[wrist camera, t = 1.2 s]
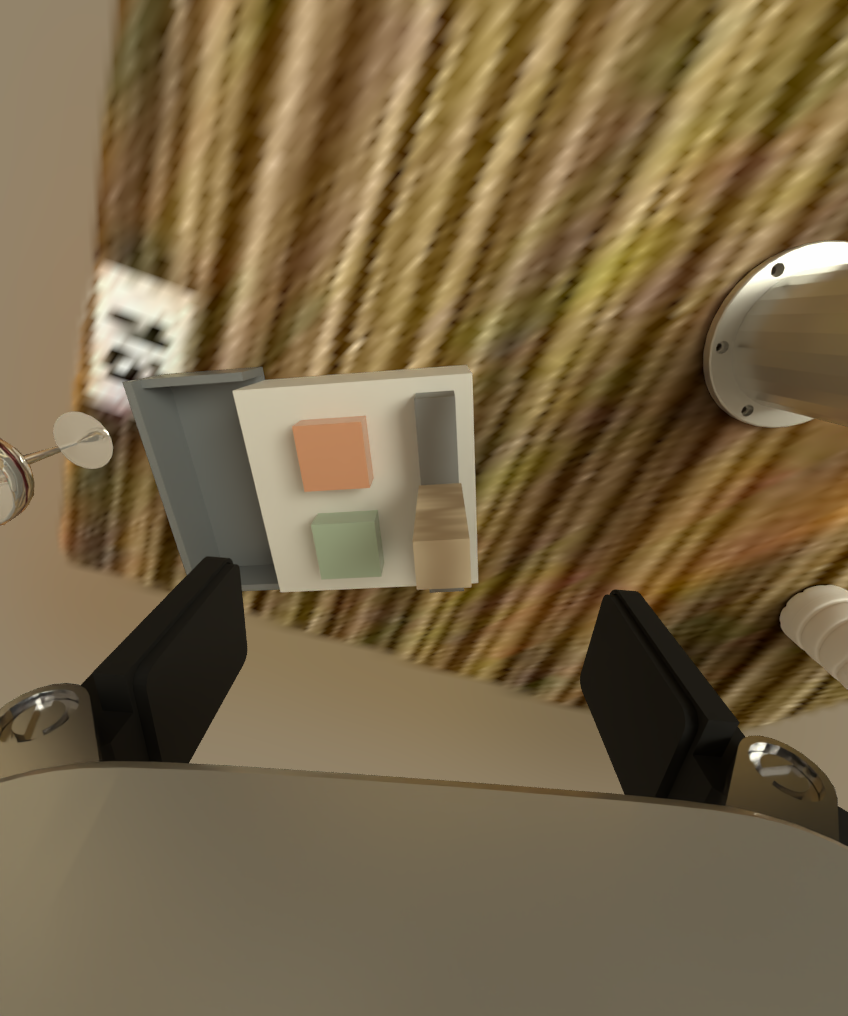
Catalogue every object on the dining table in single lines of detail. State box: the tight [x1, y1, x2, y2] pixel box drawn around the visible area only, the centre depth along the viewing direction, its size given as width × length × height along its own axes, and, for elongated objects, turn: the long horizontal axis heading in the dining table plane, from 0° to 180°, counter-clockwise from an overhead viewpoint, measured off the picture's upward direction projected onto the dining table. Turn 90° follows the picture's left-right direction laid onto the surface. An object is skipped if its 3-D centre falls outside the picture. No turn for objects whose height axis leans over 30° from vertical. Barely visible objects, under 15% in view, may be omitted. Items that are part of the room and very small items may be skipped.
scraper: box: [412, 390, 471, 593], centre depth 27 cm, size 3×14×10 cm, turn 4°
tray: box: [123, 367, 280, 591], centre depth 36 cm, size 8×18×5 cm, turn 4°
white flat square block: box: [232, 365, 478, 592], centre depth 34 cm, size 16×16×6 cm
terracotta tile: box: [292, 416, 374, 492], centre depth 30 cm, size 4×4×2 cm
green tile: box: [311, 510, 384, 580], centre depth 32 cm, size 4×4×2 cm
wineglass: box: [0, 412, 113, 525], centre depth 31 cm, size 7×7×12 cm
